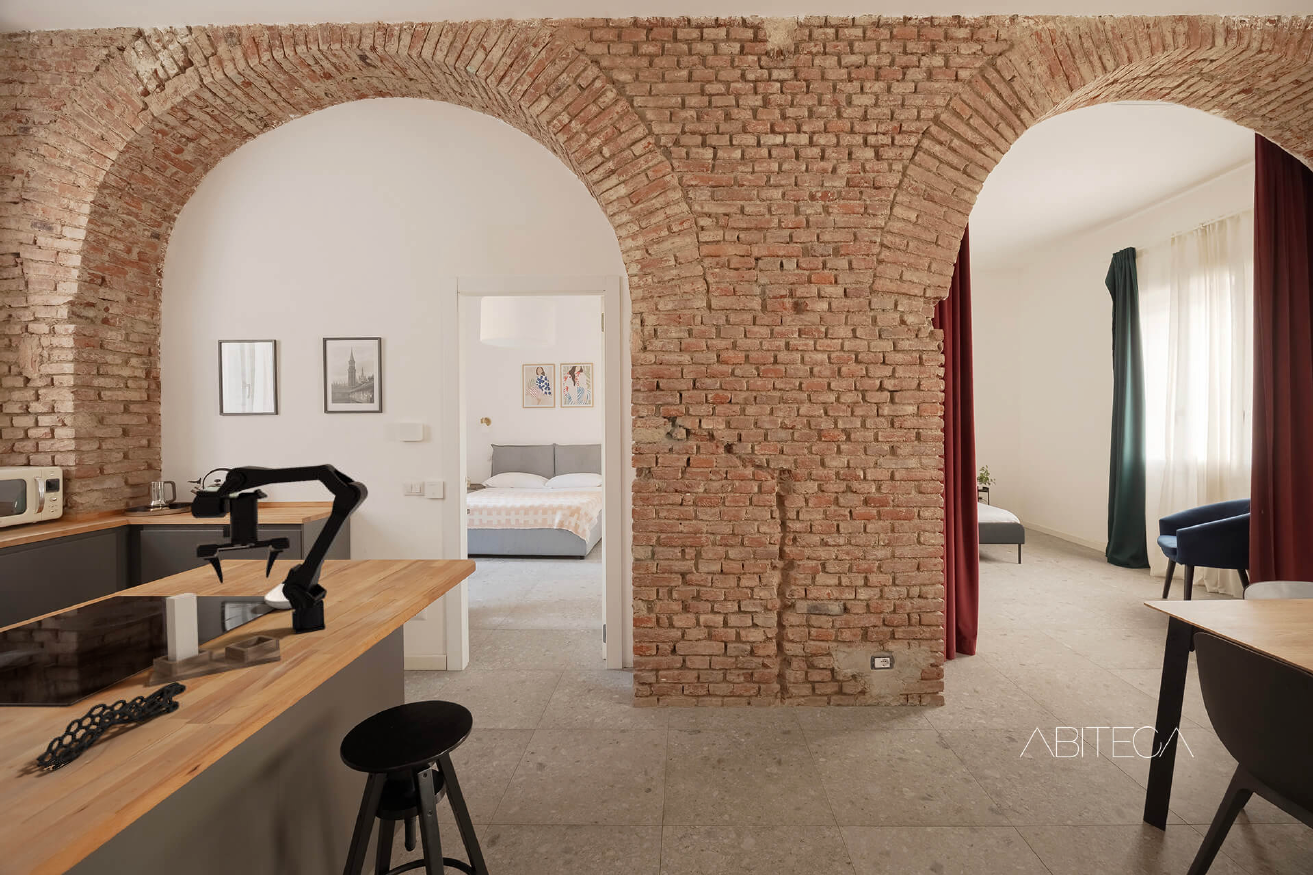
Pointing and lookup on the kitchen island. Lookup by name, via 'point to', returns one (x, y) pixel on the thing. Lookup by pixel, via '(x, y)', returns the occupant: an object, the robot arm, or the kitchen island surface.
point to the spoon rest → (277, 598)
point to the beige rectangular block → (182, 626)
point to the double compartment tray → (217, 660)
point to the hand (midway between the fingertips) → (244, 580)
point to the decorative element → (110, 722)
